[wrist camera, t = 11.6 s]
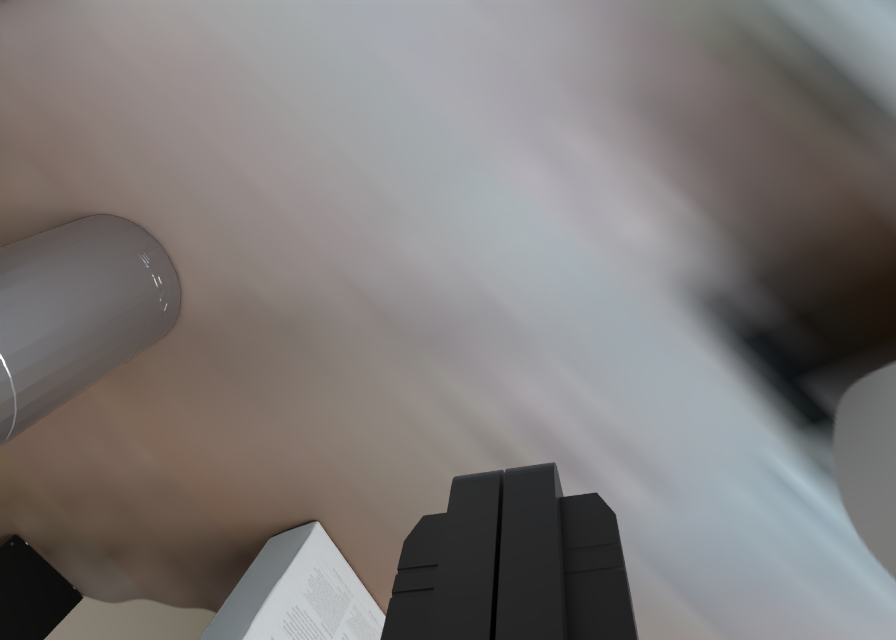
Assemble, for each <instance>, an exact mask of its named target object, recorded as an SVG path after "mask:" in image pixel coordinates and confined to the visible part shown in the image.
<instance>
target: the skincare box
mask: <svg viewBox="0 0 896 640" xmlns="http://www.w3.org/2000/svg"><path fill="white" fill-rule="evenodd" d="M385 618H386V617H385V615H384V614H383V612H382V611H381V610H380V608H379V607H378V605H377V604H376V603H375V601H374V600H373V598H372V597H371V595H370V594H369V593H368V591H367V590H366V588H365V587H364V586H363V584H362V583H361V581H360V580H359V579H358V577H357V576H356V574H355V573H354V571H353V570H352V569H351V567H350V566H349V564H348V563H347V562H346V560H345V559H344V557H343V556H342V555H341V553H340V552H339V550H338V549H337V547H336V546H335V545H334V543H333V542H332V540H331V539H330V538H329V536H328V535H327V533H326V532H325V530H324V529H323V527H322V526H321V525H320V523H319V522H318V521H316V522H312V523H309V524H306V525H303V526H300V527H297V528H294V529H292V530H289V531H286V532H284V533H281V534H279V535H277V536H274V537H272V538H270V539H269V540H268V541H267V543H266V544H265V546H264V547H263V549H262V550H261V551H260V553H259V554H258V556H257V557H256V558H255V560H254V561H253V563H252V564H251V565H250V567H249V568H248V570H247V571H246V573H245V574H244V575H243V577H242V578H241V580H240V581H239V582H238V584H237V585H236V587H235V588H234V590H233V591H232V592H231V594H230V595H229V597H228V598H227V600H226V601H225V602H224V604H223V605H222V607H221V608H220V609H219V611H218V612H217V614H216V615H215V617H214V618H213V619H212V621H211V622H210V623H209V625H208V626H207V628H206V629H205V630H204V632H203V633H202V635H201V636H200V637H199V639H198V640H380V639H381V635H382V631H383V627H384V622H385Z"/></svg>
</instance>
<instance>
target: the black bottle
mask: <svg viewBox="0 0 896 640" xmlns="http://www.w3.org/2000/svg"><path fill="white" fill-rule="evenodd" d="M82 599H83V597H82V596H81V595H80V594H79V593H78V592H77V590H76V589H75V587H73V586H71V585H70V584H69V583H68V582H67V581H66V580H65V579H64V578H63V577H62V576H61V575H60V574H59V573H57V572H56V571H55V570H54V569H53V568H52V567H51V566H50V565H49V564H48V563H47V562H46V561H45V560H43V559H42V558H41V557H40V556H39V555H38V554H37V553H36V552H35V551H34V550H33V549H32V548H31V547H30V546H28V544H27V543H26V542H24V541H22V540H21V539H20V538H19V537H18V536H16V535H15V536H13V537H12V538H11V539H10V540H9V541H7V542H6V543H5V544H4V545H3V546H1V547H0V640H44V639H45V638H46V637H47V636H48V635H49V634H50V633H51V631H52V630H53V629H54V628H55V627H56V626H57V625H58V624H59V623H60V622H61V621H62V620H63V619H64V618H65V616H67V614H68V613H70V611H71V610H72V609H73V608H74V607H75V606H76V605H77V604H78V603H79V602H80V601H81V600H82Z"/></svg>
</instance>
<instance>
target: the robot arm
mask: <svg viewBox="0 0 896 640" xmlns="http://www.w3.org/2000/svg"><path fill="white" fill-rule="evenodd" d="M180 302H181V301H180V287H179V283H178V279H177V274H176V272H175V270H174V268H173V265H172V263H171V261H170V259H169V258H168V256H167V255H166V253H165V252H164V250H163V249H162V247H161V246H160V245H159V244H158V243H157V242H156V241H155V240H154V238H153V237H152V236H151V235H149V234H148V233H147V232H145V231H144V230H143V229H142V228H140V227H139V226H137V225H135V224H133V223H131V222H129V221H127V220H125V219H122V218H119V217H115V216H112V215H94V216H89V217H85V218H82V219H79V220H76V221H74V222H71V223H68V224H65V225H62V226H59V227H57V228H54V229H51V230H48V231H45V232H42V233H39V234H36V235H34V236H31V237H28V238H25V239H22V240H20V241H17V242H14V243H11V244H8V245H6V246H3V247H0V447H1V446H2V445H4V444H5V443H7V442H8V441H10V440H11V439H13V438H14V437H16V436H17V435H19V434H20V433H21V432H23V431H24V430H26V429H27V428H29V427H30V426H32V425H33V424H35V423H36V422H38V421H39V420H41V419H42V418H44V417H45V416H47V415H48V414H50V413H51V412H53V411H54V410H56V409H57V408H59V407H60V406H62V405H63V404H65V403H66V402H68V401H69V400H70V399H72V398H73V397H75V396H76V395H78V394H79V393H81V392H82V391H84V390H85V389H87V388H88V387H90V386H91V385H93V384H94V383H96V382H97V381H99V380H100V379H102V378H103V377H105V376H106V375H108V374H109V373H111V372H112V371H114V370H115V369H117V368H118V367H120V366H121V365H123V364H124V363H126V362H127V361H129V360H130V359H132V358H133V357H135V356H136V355H138V354H139V353H140V352H142V351H143V350H145V349H146V348H148V347H149V346H151V345H152V344H154V343H155V342H157V341H158V340H159V339H161V338H162V337H164V336H165V335H166V334H167V333H168V332H169V331H170V329H171V328H172V327H173V326H174V323H175V321H176V319H177V317H178V314H179V308H180ZM397 570H398V574H396V577H395V581H394V585H393V589H392V598H390V602H389V606H388V610H387V614H386V618H385V622H384V627H383V631H382V635H381V639H380V640H639V639H638V633H637V627H636V622H635V616H634V610H633V604H632V599H631V593H630V588H629V583H628V577H627V572H626V567H625V561H624V556H623V551H622V545H621V540H620V535H619V529H618V524H617V519H616V514H615V513H614V512H613V511H612V509H611V508H610V507H609V506H608V505H607V504H606V503H605V502H604V500H603V499H602V498H601V497H600V496H599V495H598V494H597V493H590V494H582V495H575V496H567V497H563V492H562V488H561V483H560V479H559V474H558V470H557V466H556V464H555V462H553V463H546V464H539V465H532V466H525V467H518V468H511V469H506V470H505V473H504V471H503V470H498V471H491V472H484V473H477V474H470V475H463V476H456V477H454V478H453V480H452V485H451V491H450V497H449V503H448V509H447V513H440V514H433V515H425V516H423V517H422V518H421V519H420V521H419V522H418V523H417V525H416V526H415V527H414V529H413V530H412V531H411V533H410V534H409V535H408V537H407V538H406V539H405V541H404V543H403V548H402V552H401V556H400V560H399V564H398V568H397Z"/></svg>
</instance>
